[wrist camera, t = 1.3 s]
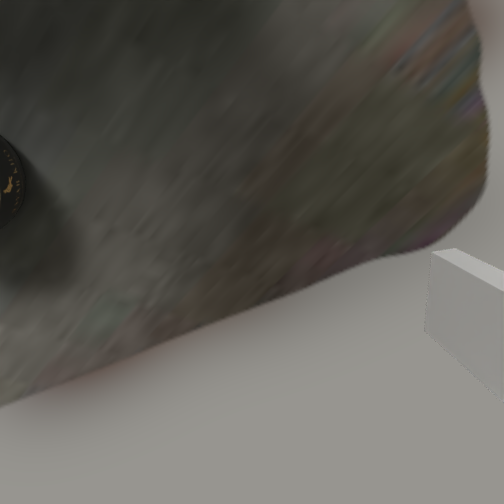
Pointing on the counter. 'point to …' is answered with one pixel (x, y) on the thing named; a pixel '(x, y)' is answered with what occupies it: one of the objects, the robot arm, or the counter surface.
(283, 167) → the counter surface
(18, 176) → the jar
